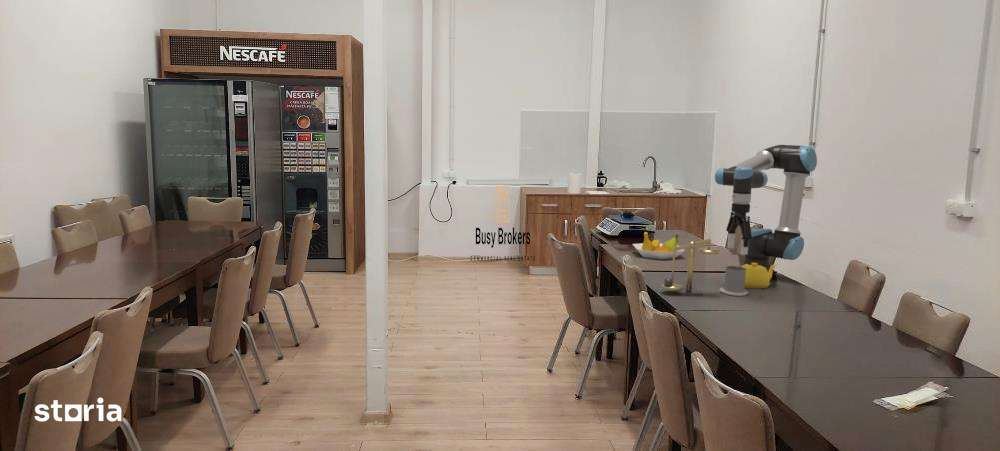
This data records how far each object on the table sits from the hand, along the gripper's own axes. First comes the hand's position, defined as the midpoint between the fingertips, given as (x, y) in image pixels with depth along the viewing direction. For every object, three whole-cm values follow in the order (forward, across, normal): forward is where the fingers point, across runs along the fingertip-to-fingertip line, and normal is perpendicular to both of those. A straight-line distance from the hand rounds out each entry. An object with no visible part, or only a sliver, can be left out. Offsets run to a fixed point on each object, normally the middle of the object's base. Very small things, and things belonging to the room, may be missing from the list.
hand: (737, 251), depth 309 cm
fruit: (+19, -82, -8) cm, 84 cm away
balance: (+19, +1, -21) cm, 28 cm away
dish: (+19, 0, 0) cm, 19 cm away
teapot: (+19, -15, +15) cm, 28 cm away
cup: (+18, 0, 0) cm, 18 cm away
